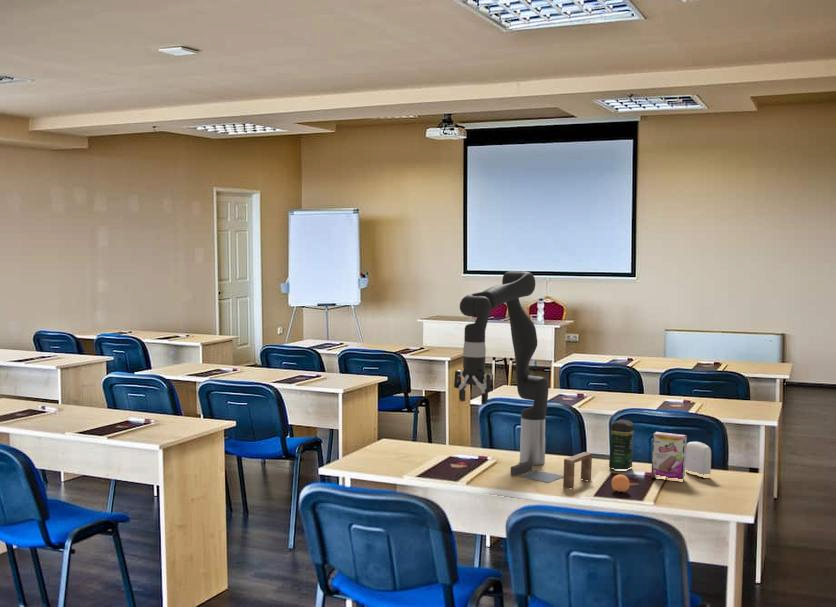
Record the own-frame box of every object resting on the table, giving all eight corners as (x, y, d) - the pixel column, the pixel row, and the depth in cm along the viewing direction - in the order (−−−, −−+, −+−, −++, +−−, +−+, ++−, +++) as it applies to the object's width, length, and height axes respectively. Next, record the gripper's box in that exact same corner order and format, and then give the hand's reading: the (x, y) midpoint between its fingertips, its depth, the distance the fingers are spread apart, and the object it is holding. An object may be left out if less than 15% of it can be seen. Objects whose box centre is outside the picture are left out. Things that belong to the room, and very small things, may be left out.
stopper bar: (527, 469, 319) (527, 461, 318) (532, 470, 317) (532, 462, 317) (510, 475, 309) (510, 466, 309) (515, 476, 308) (515, 467, 308)
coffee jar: (627, 473, 315) (629, 423, 314) (606, 470, 319) (608, 421, 318) (634, 468, 324) (636, 419, 323) (613, 465, 328) (615, 417, 327)
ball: (615, 488, 294) (616, 471, 294) (632, 492, 290) (632, 474, 290) (608, 492, 289) (608, 474, 289) (624, 495, 285) (625, 477, 285)
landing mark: (535, 470, 316) (535, 470, 316) (564, 476, 309) (565, 475, 309) (518, 476, 307) (518, 476, 307) (548, 482, 300) (548, 482, 300)
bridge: (563, 487, 294) (564, 459, 294) (583, 478, 306) (584, 451, 306) (570, 488, 293) (571, 460, 292) (591, 480, 304) (592, 453, 304)
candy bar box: (650, 479, 308) (652, 433, 308) (653, 476, 313) (654, 431, 312) (683, 483, 304) (685, 437, 303) (685, 480, 308) (686, 434, 307)
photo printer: (682, 473, 319) (684, 439, 318) (691, 471, 321) (693, 439, 320) (703, 479, 309) (704, 445, 309) (712, 478, 311) (713, 444, 311)
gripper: (498, 355, 289) (496, 403, 290) (462, 352, 298) (461, 398, 299) (486, 357, 283) (485, 406, 284) (450, 354, 292) (449, 401, 293)
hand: (473, 402), depth 292 cm, fingers open, 8 cm apart
